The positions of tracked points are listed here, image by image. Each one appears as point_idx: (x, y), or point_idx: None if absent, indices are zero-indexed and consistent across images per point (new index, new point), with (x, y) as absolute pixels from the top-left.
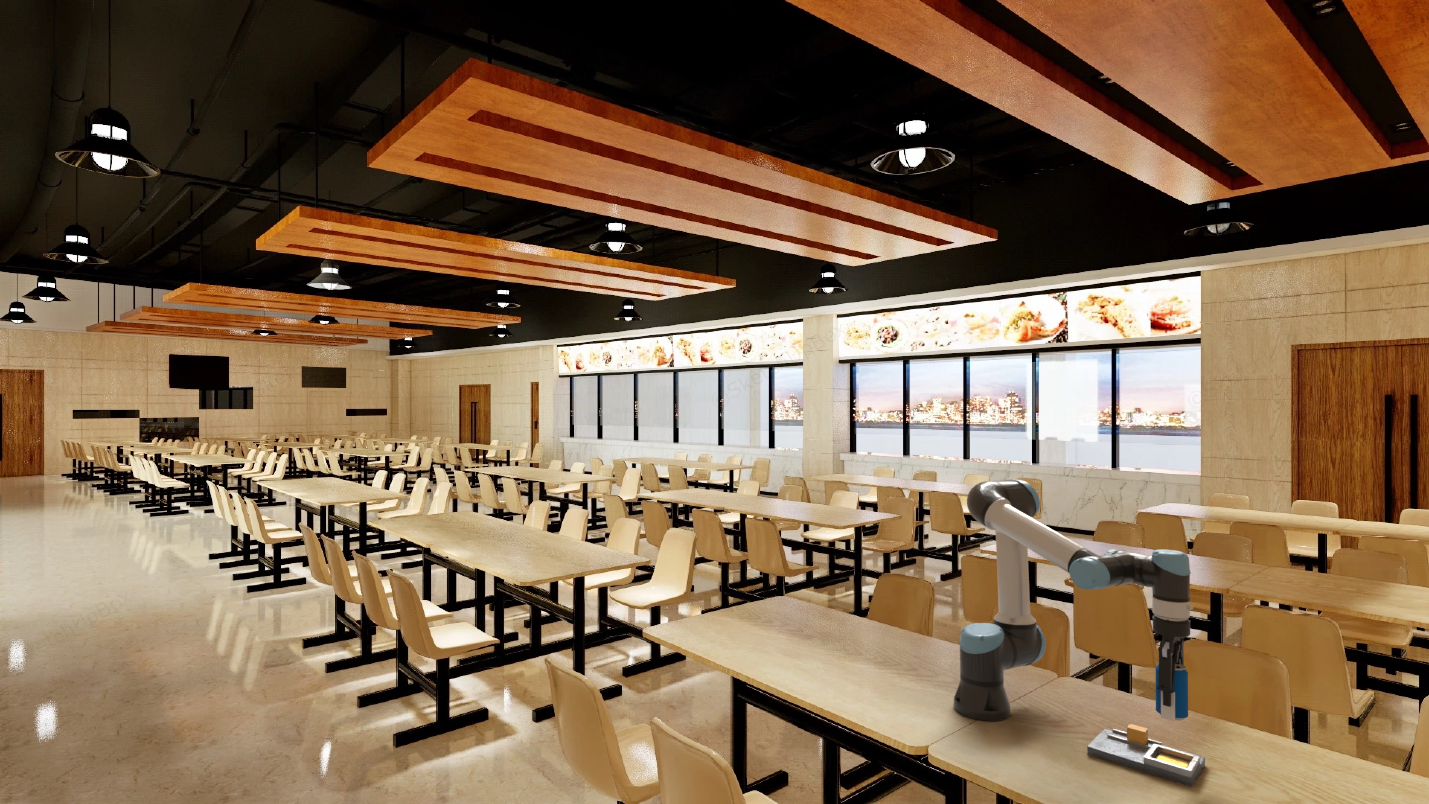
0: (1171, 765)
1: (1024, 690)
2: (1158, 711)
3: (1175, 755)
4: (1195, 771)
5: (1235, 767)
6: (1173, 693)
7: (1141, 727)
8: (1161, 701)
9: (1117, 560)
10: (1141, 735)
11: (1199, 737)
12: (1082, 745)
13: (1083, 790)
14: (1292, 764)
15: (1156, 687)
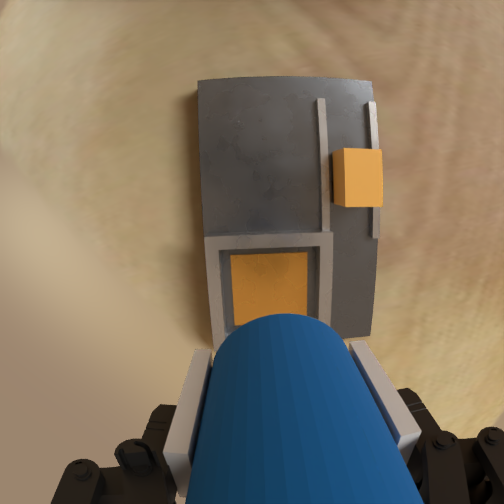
0: (210, 309)
1: None
2: (226, 340)
3: (317, 289)
4: None
5: (393, 366)
6: (180, 491)
7: (378, 187)
8: (178, 402)
9: None
10: (340, 195)
11: (494, 273)
12: (252, 59)
13: (28, 169)
14: (453, 409)
15: (235, 413)
